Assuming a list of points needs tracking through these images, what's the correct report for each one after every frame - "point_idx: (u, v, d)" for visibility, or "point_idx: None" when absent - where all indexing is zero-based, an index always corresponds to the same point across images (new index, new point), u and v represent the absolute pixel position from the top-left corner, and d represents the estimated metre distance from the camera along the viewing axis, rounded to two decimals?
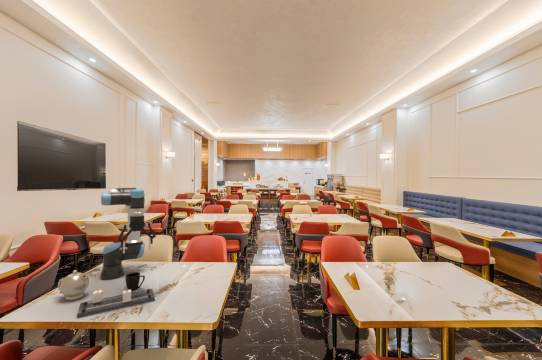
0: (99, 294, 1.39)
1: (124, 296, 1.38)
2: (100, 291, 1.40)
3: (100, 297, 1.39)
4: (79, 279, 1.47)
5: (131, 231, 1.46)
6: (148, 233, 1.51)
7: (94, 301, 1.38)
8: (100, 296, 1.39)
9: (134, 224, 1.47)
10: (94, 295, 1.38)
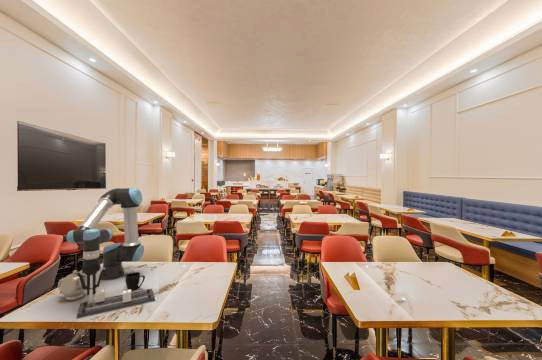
0: (101, 294, 1.39)
1: (124, 296, 1.38)
2: (102, 291, 1.41)
3: (102, 297, 1.40)
4: (79, 279, 1.47)
5: (88, 276, 1.37)
6: (95, 281, 1.38)
7: (96, 301, 1.38)
8: (102, 296, 1.40)
9: None
10: (96, 295, 1.38)
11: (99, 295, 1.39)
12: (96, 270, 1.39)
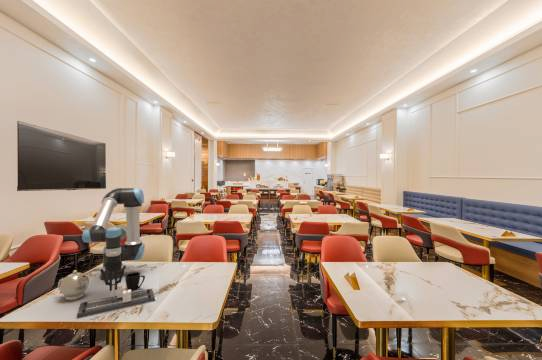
0: (123, 289, 1.45)
1: (124, 296, 1.38)
2: (124, 287, 1.46)
3: None
4: (79, 279, 1.47)
5: (111, 272, 1.42)
6: (117, 277, 1.44)
7: (118, 296, 1.44)
8: None
9: (108, 263, 1.42)
10: (118, 290, 1.44)
11: (121, 291, 1.44)
12: (118, 267, 1.44)
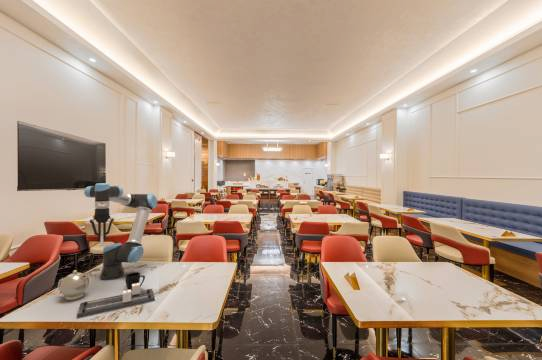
0: (137, 287, 1.49)
1: (124, 296, 1.38)
2: (138, 284, 1.50)
3: (138, 289, 1.49)
4: (79, 279, 1.47)
5: (100, 223, 1.54)
6: (105, 229, 1.56)
7: (133, 293, 1.47)
8: (138, 288, 1.49)
9: (97, 215, 1.54)
10: (133, 287, 1.47)
11: (135, 288, 1.48)
12: (106, 219, 1.56)
